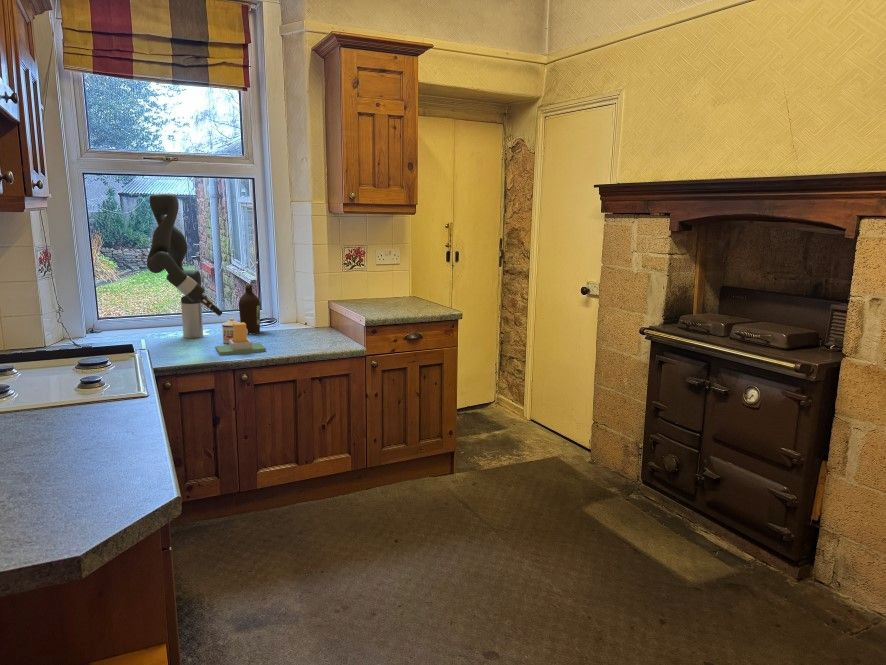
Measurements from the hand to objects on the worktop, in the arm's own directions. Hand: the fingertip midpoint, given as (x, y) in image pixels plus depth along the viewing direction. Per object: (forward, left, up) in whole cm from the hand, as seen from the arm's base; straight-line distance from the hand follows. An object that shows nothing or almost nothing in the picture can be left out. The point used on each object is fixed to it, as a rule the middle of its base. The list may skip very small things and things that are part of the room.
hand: (219, 312), depth 270 cm
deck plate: (0, +8, -18) cm, 20 cm away
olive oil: (-38, +20, -18) cm, 47 cm away
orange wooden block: (0, +8, -16) cm, 18 cm away
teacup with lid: (-18, +9, -18) cm, 28 cm away
